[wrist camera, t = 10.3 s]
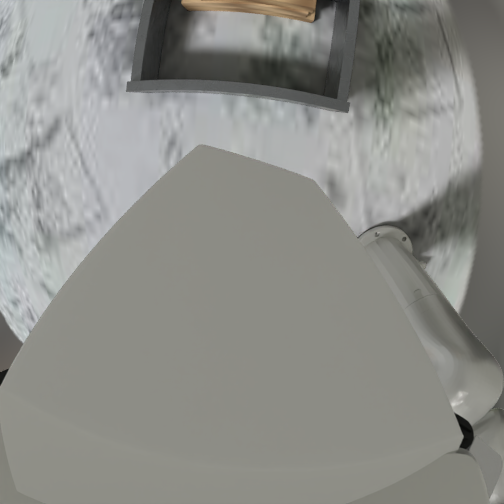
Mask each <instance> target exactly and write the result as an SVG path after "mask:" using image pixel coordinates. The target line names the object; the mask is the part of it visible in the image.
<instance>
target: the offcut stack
mask: <svg viewBox="0 0 504 504" xmlns="http://www.w3.org/2000/svg"><path fill="white" fill-rule="evenodd" d="M316 2H317V0H182V2H181V4H182V5H183V6H184V8H186V9H187V11H231V12H245V13H255V14H264V15H271V16H278V17H284V18H289V19H295V20H300V21H305V22H309V23H312V22H313V21H314V17H315V9H316Z"/></svg>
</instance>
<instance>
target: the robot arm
mask: <svg viewBox="0 0 504 504" xmlns="http://www.w3.org/2000/svg"><path fill="white" fill-rule="evenodd" d="M358 240H359V241H360V243H361V244H362V245H363V247H364V248H365V250H366V251H367V253H368V254H369V256H370V257H371V259H372V260H373V262H374V263H375V265H376V266H377V268H378V270H379V271H380V273H381V274H382V276H383V277H384V279H385V281H386V282H387V284H388V285H389V287H390V289H391V290H392V292H393V293H394V295H395V297H396V298H397V300H398V302H399V303H400V305H401V307H402V309H403V310H404V312H405V314H406V316H407V317H408V319H409V321H410V323H411V324H412V326H413V328H414V330H415V332H416V334H417V335H418V337H419V339H420V341H421V343H422V345H423V347H424V349H425V351H426V353H427V354H428V356H429V358H430V360H431V362H432V365H433V367H434V369H435V371H436V373H437V375H438V377H439V379H440V381H441V384H442V386H443V388H444V390H445V392H446V395H447V397H448V399H449V402H450V404H451V406H452V409H453V411H454V414H455V416H456V419H457V421H458V424H459V427H460V429H461V432H462V434H463V436H464V437H463V439H462V442H461V444H460V446H459V449H458V450H455V451H452V452H449V453H446V454H444V455H442V456H441V457H439V458H438V459H436V460H435V461H433V462H431V463H430V464H428V465H427V466H425V467H423V468H422V469H420V470H418V471H416V472H414V473H413V474H411V475H409V476H407V477H405V478H404V479H402V480H400V481H398V482H396V483H394V484H392V485H390V486H388V487H385V488H383V489H381V490H379V491H376V492H374V493H372V494H369V495H367V496H365V497H362V498H360V499H357V500H354V501H352V502H349V503H346V504H504V410H503V409H500V408H496V409H492V407H493V406H494V405H495V403H496V402H497V401H498V398H499V397H500V395H501V392H502V389H503V384H504V382H503V381H504V379H503V373H502V370H501V368H500V366H499V364H498V362H497V361H496V359H495V358H494V356H493V355H492V354H491V353H490V352H489V350H488V349H487V348H486V347H485V346H484V345H483V344H482V343H481V341H480V340H479V339H478V338H477V337H476V336H475V335H474V333H473V332H472V331H471V330H470V329H469V327H468V326H467V325H466V324H465V323H464V321H463V320H462V318H461V317H460V316H459V314H458V313H457V312H456V311H455V309H454V308H453V306H452V305H451V304H450V302H449V301H448V300H447V298H446V297H445V296H444V294H443V293H442V292H441V290H440V289H439V288H438V286H437V285H436V284H435V283H434V281H433V280H432V279H431V277H430V276H429V275H428V274H427V272H426V271H425V270H424V269H425V268H426V263H425V262H424V261H418V260H417V259H416V258H415V257H414V255H413V254H412V253H413V250H412V244H411V241H410V239H409V237H408V236H407V235H406V234H405V233H404V232H403V231H402V230H401V229H399V228H397V227H395V226H390V225H385V226H379V227H375V228H373V229H370V230H368V231H367V232H365V233H364V234H362V235H361V236H360V237H359V238H358ZM8 370H9V369H7V370H5V371H2V372H0V386H1V384H2V382H3V380H4V378H5V376H6V374H7V372H8ZM491 409H492V410H491ZM0 504H45V503H43V502H40V501H38V500H35V499H33V498H31V497H28V496H26V495H24V494H22V493H20V492H18V491H17V490H16V487H15V484H14V481H13V477H12V474H11V470H10V467H9V463H8V459H7V455H6V451H5V446H4V441H3V436H2V430H1V424H0Z"/></svg>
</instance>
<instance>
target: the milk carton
mask: <svg viewBox="0 0 504 504" xmlns="http://www.w3.org/2000/svg"><path fill="white" fill-rule="evenodd" d="M0 424H1V430H2V436H3V441H4V446H5V451H6V455H7V459H8V463H9V467H10V470H11V474H12V477H13V481H14V484H15V487H16V490H17V491H18V492H20V493H22V494H24V495H26V496H28V497H31V498H33V499H35V500H38V501H40V502H43V503H45V504H346V503H349V502H352V501H354V500H357V499H360V498H362V497H365V496H367V495H369V494H372V493H374V492H376V491H379V490H381V489H383V488H385V487H388V486H390V485H392V484H394V483H396V482H398V481H400V480H402V479H404V478H405V477H407V476H409V475H411V474H413V473H414V472H416V471H418V470H420V469H422V468H423V467H425V466H427V465H428V464H430V463H431V462H433V461H435V460H436V459H438V458H439V457H441V456H442V455H444V454H446V453H449V452H452V451H455V450H458V449H459V446H460V444H461V442H462V439H463V437H464V436H463V434H462V432H461V429H460V427H459V424H458V421H457V419H456V416H455V414H454V411H453V409H452V406H451V404H450V402H449V399H448V397H447V395H446V392H445V390H444V388H443V386H442V384H441V381H440V379H439V377H438V375H437V373H436V371H435V369H434V367H433V365H432V362H431V360H430V358H429V356H428V354H427V353H426V351H425V349H424V347H423V345H422V343H421V341H420V339H419V337H418V335H417V334H416V332H415V330H414V328H413V326H412V324H411V323H410V321H409V319H408V317H407V316H406V314H405V312H404V310H403V309H402V307H401V305H400V303H399V302H398V300H397V298H396V297H395V295H394V293H393V292H392V290H391V289H390V287H389V285H388V284H387V282H386V281H385V279H384V277H383V276H382V274H381V273H380V271H379V270H378V268H377V266H376V265H375V263H374V262H373V260H372V259H371V257H370V256H369V254H368V253H367V251H366V250H365V248H364V247H363V245H362V244H361V243H360V241H359V240H358V238H357V237H356V235H355V234H354V233H353V231H352V230H351V228H350V227H349V226H348V224H347V223H346V221H345V220H344V219H343V217H342V216H341V215H340V213H339V212H338V211H337V209H336V208H335V207H334V205H333V204H332V203H331V201H330V200H329V199H328V197H327V196H326V195H325V193H324V192H323V191H322V190H321V188H320V187H319V186H318V185H317V183H316V182H315V181H314V180H312V179H310V178H308V177H305V176H302V175H300V174H297V173H294V172H291V171H288V170H286V169H283V168H280V167H277V166H274V165H271V164H268V163H265V162H262V161H258V160H255V159H252V158H249V157H246V156H242V155H239V154H236V153H232V152H229V151H225V150H222V149H218V148H214V147H211V146H207V145H198V146H197V147H195V148H194V149H193V150H192V151H191V152H190V153H188V154H187V155H186V156H185V157H184V158H183V159H181V160H180V161H179V162H178V163H177V164H176V165H175V166H174V167H172V168H171V169H170V170H169V171H168V172H167V173H166V174H165V175H164V176H163V177H161V178H160V179H159V180H158V181H157V182H156V183H155V184H154V185H153V186H152V187H151V188H150V189H149V190H148V191H147V192H146V193H145V194H144V195H143V196H142V197H141V198H140V199H139V200H138V201H137V202H136V203H135V204H134V205H133V206H132V207H131V208H130V209H129V210H128V211H127V212H126V213H125V214H124V215H123V216H122V217H121V218H120V219H119V220H118V221H117V222H116V223H115V224H114V225H113V227H112V228H111V229H110V230H109V231H108V232H107V233H106V234H105V235H104V237H103V238H102V239H101V240H100V241H99V242H98V243H97V244H96V246H95V247H94V248H93V249H92V250H91V251H90V253H89V254H88V255H87V256H86V257H85V259H84V260H83V261H82V262H81V263H80V265H79V266H78V267H77V268H76V270H75V271H74V272H73V273H72V275H71V276H70V277H69V279H68V280H67V281H66V282H65V284H64V285H63V286H62V288H61V289H60V290H59V292H58V293H57V295H56V296H55V297H54V299H53V300H52V301H51V303H50V304H49V306H48V307H47V309H46V310H45V311H44V313H43V314H42V316H41V317H40V319H39V320H38V322H37V323H36V325H35V326H34V328H33V329H32V331H31V333H30V334H29V336H28V337H27V339H26V341H25V342H24V344H23V346H22V347H21V349H20V351H19V353H18V354H17V356H16V358H15V359H14V361H13V363H12V365H11V367H10V368H9V370H8V372H7V374H6V376H5V378H4V380H3V382H2V384H1V386H0Z"/></svg>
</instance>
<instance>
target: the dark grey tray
mask: <svg viewBox="0 0 504 504" xmlns="http://www.w3.org/2000/svg"><path fill="white" fill-rule="evenodd" d="M332 1H335V2H336V11H335V20H334V28H333V36H332V44H331V51H330V59H329V65H328V72H327V79H326V85H325V92H324V96H321V95H317V94H312V93H307V92H302V91H297V90H292V89H286V88H280V87H274V86H267V85H259V84H251V83H241V82H230V81H216V80H189V79H171V80H158V73H159V65H160V58H161V51H162V44H163V38H164V32H165V27H166V22H167V16H168V12H169V7H170V2H171V0H144V4H143V9H142V13H141V18H140V23H139V28H138V34H137V39H136V45H135V52H134V59H133V67H132V75H131V81H130V82H127V89H126V92H143V93H158V92H189V93H213V94H227V95H238V96H248V97H256V98H264V99H271V100H278V101H284V102H290V103H296V104H301V105H306V106H311V107H316V108H320V109H325V110H329V111H336V112H344V113H348V111H349V106H350V103H349V102H347V99H348V93H349V87H350V81H351V74H352V67H353V60H354V52H355V44H356V36H357V27H358V16H359V5H360V0H332Z"/></svg>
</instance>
